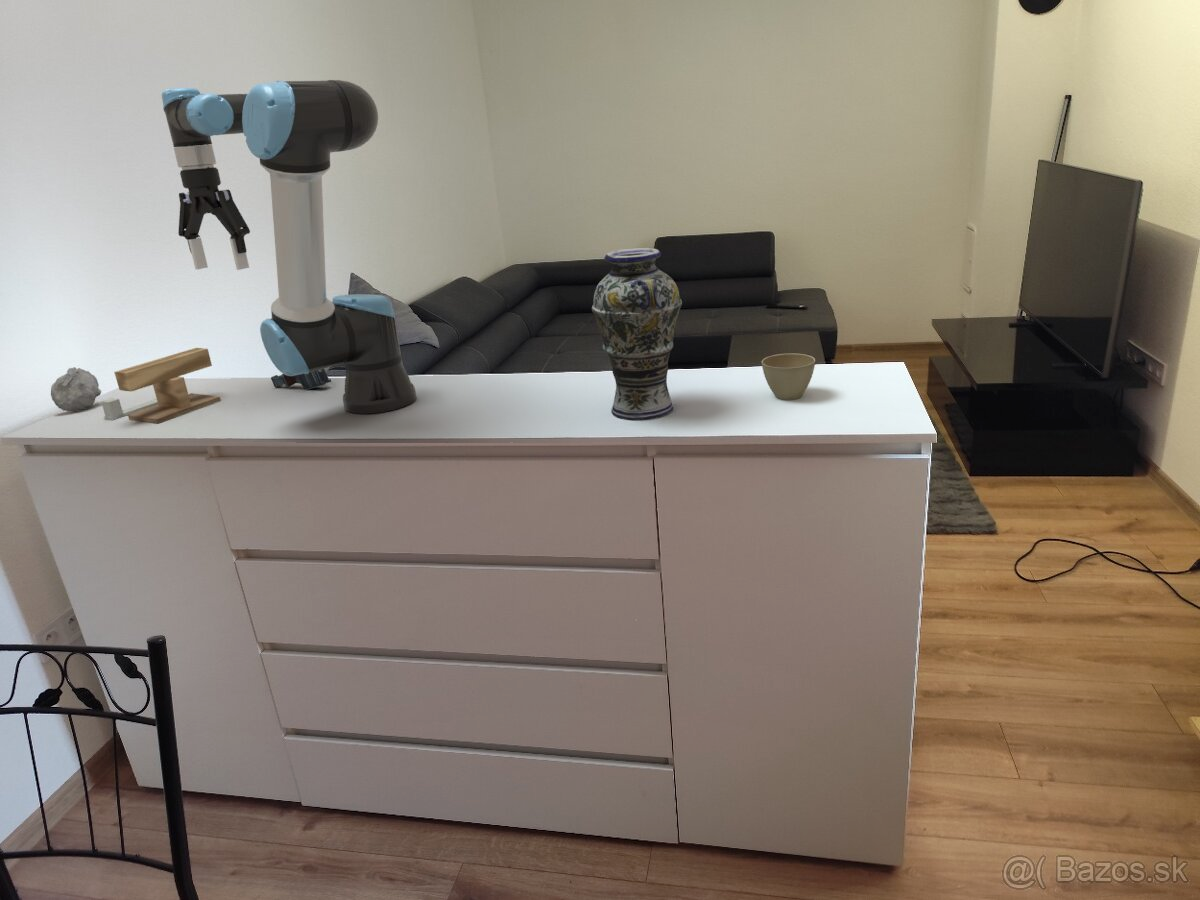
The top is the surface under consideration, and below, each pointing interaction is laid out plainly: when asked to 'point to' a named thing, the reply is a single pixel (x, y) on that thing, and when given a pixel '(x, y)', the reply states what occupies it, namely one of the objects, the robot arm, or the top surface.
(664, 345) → the vase
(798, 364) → the flower pot
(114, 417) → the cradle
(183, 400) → the fulcrum
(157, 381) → the bar
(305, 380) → the gun
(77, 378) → the stone
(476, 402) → the top surface
